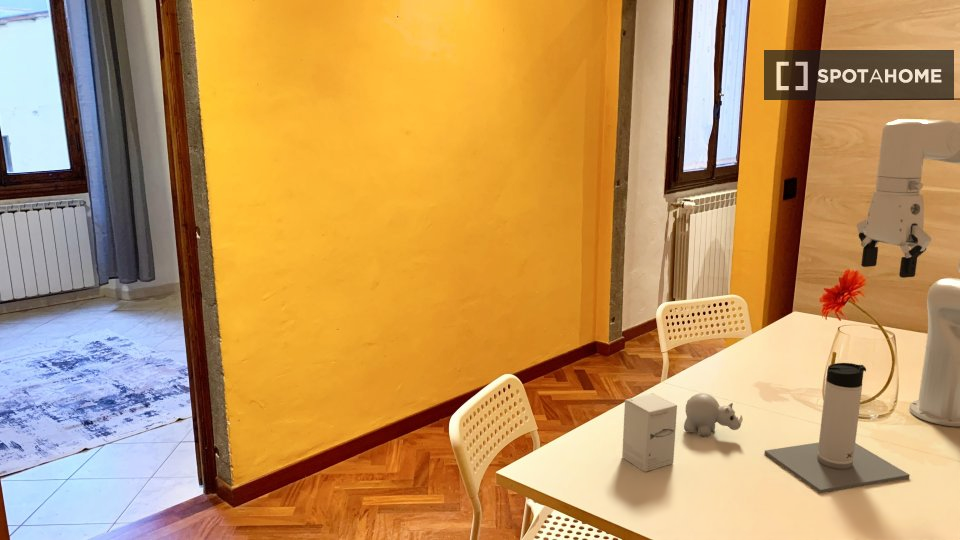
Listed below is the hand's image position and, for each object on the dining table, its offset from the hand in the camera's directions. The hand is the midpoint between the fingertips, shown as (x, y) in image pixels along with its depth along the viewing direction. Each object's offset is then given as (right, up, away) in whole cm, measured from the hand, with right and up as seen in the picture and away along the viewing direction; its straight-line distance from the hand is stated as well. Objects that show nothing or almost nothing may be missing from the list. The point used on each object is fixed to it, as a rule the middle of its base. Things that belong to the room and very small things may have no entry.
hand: (887, 271), depth 147 cm
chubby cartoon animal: (-32, -35, +11) cm, 49 cm away
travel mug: (-12, -37, -3) cm, 39 cm away
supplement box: (-48, -38, -1) cm, 61 cm away
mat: (-12, -38, -3) cm, 40 cm away
